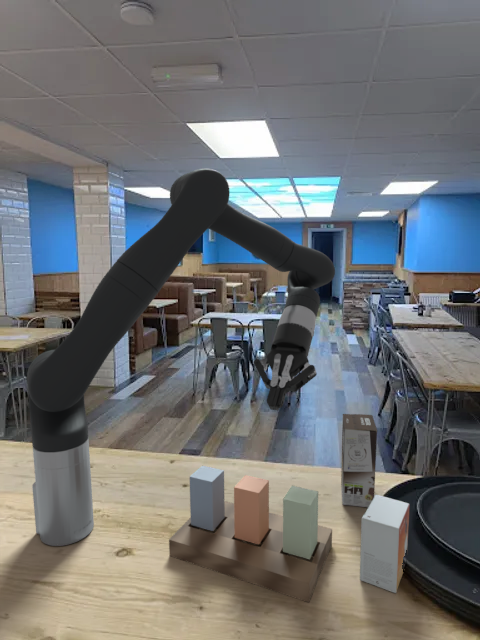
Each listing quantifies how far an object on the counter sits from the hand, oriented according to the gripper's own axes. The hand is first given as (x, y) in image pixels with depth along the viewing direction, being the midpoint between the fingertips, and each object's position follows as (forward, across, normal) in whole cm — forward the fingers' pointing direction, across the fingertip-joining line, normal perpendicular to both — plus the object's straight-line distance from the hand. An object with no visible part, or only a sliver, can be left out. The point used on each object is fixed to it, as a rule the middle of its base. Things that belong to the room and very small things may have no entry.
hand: (273, 408), depth 81 cm
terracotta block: (+21, 0, +6) cm, 21 cm away
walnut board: (+23, 0, +8) cm, 24 cm away
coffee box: (+5, +13, +26) cm, 29 cm away
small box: (+20, +21, +11) cm, 31 cm away
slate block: (+21, -8, +6) cm, 23 cm away
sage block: (+21, +9, +6) cm, 23 cm away
